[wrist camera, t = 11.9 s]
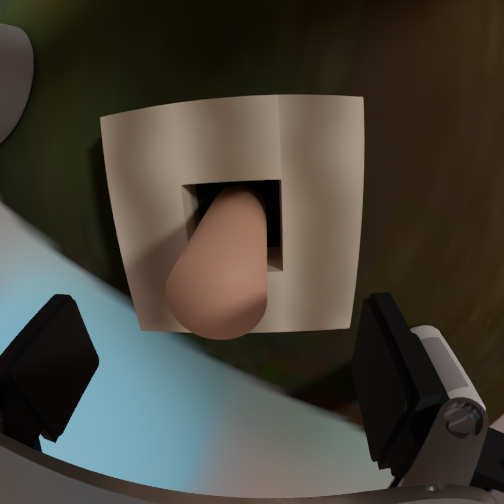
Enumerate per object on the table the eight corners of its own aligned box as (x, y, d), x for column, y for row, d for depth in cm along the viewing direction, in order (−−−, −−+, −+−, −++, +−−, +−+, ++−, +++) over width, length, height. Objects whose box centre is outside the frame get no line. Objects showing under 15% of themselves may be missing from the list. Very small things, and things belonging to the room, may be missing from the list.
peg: (265, 183, 22) (265, 250, 11) (267, 235, 23) (268, 339, 12) (209, 186, 22) (156, 253, 11) (214, 237, 24) (175, 338, 13)
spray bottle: (406, 317, 26) (487, 479, 10) (451, 329, 27) (529, 462, 10) (371, 367, 29) (417, 523, 12) (417, 375, 30) (469, 506, 13)
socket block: (346, 101, 19) (363, 97, 15) (339, 299, 26) (349, 327, 22) (125, 116, 20) (100, 117, 16) (155, 303, 26) (141, 330, 23)
